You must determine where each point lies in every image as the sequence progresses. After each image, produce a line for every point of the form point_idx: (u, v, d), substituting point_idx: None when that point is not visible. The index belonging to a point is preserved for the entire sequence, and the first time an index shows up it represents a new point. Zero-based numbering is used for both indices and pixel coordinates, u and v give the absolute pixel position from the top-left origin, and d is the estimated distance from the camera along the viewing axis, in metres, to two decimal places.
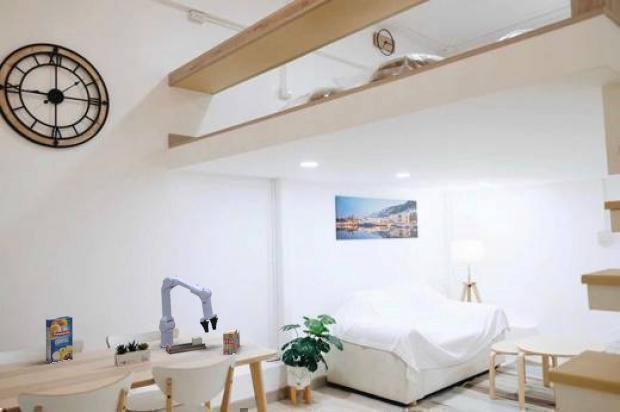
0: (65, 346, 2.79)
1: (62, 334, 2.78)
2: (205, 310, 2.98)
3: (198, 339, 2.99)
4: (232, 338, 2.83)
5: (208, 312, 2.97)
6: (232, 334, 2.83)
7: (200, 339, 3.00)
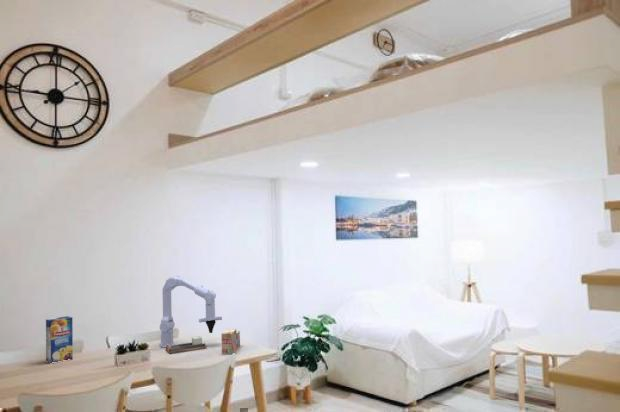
0: (65, 346, 2.79)
1: (62, 334, 2.78)
2: (206, 312, 3.04)
3: (198, 339, 2.99)
4: (230, 338, 2.83)
5: (208, 314, 3.03)
6: (230, 334, 2.83)
7: (200, 339, 3.00)
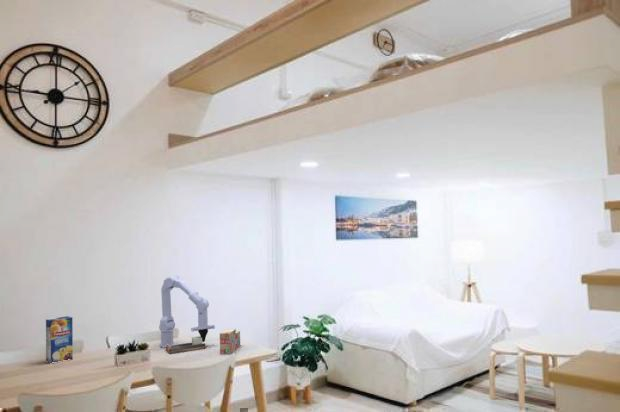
0: (65, 346, 2.79)
1: (62, 334, 2.78)
2: (198, 320, 3.02)
3: (198, 339, 2.99)
4: (228, 338, 2.83)
5: (200, 323, 3.01)
6: (228, 334, 2.83)
7: (200, 339, 2.99)
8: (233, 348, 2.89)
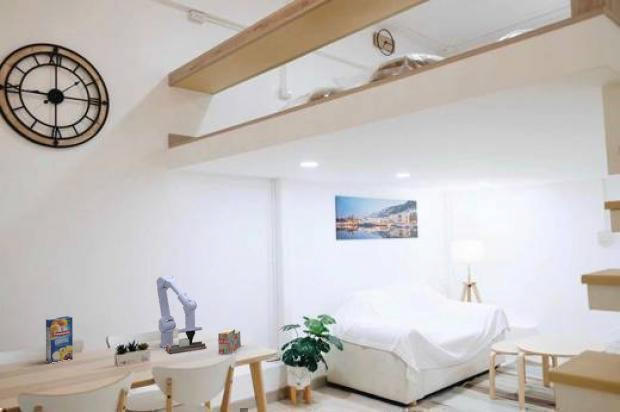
0: (65, 346, 2.79)
1: (62, 334, 2.78)
2: (185, 322, 2.98)
3: (185, 341, 2.95)
4: (227, 338, 2.83)
5: (187, 325, 2.97)
6: (227, 334, 2.83)
7: (187, 341, 2.95)
8: (232, 348, 2.89)
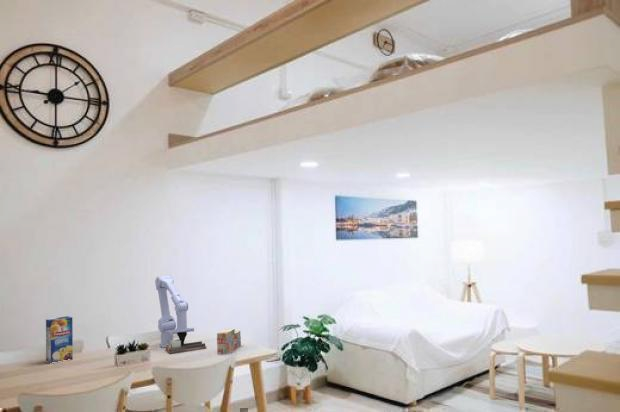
0: (65, 346, 2.79)
1: (62, 334, 2.78)
2: (177, 323, 2.95)
3: (176, 342, 2.92)
4: (225, 338, 2.84)
5: (179, 326, 2.94)
6: (225, 334, 2.84)
7: (179, 342, 2.93)
8: (231, 348, 2.89)
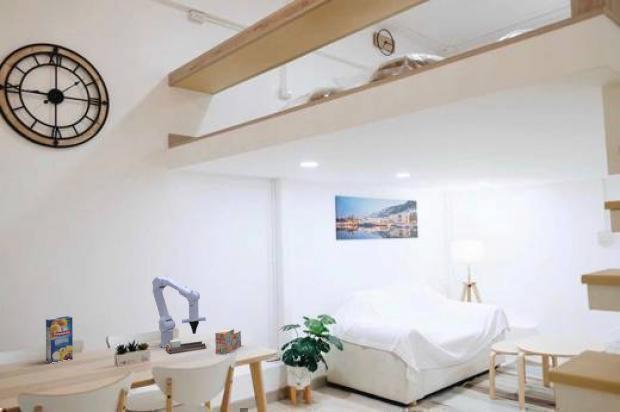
0: (65, 346, 2.79)
1: (62, 334, 2.78)
2: (189, 312, 3.02)
3: (176, 342, 2.92)
4: (223, 338, 2.84)
5: (191, 315, 3.01)
6: (223, 334, 2.84)
7: (178, 342, 2.93)
8: (230, 348, 2.90)
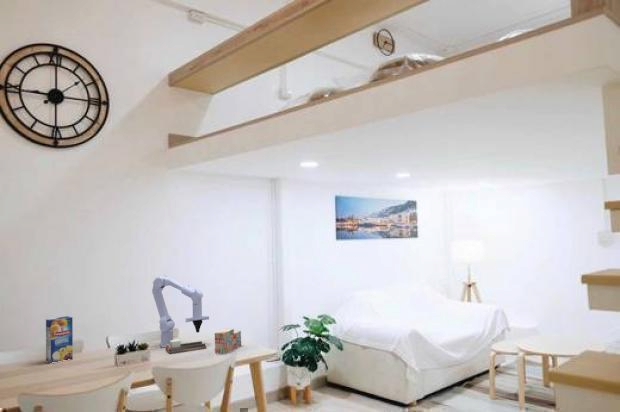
0: (65, 346, 2.79)
1: (62, 334, 2.78)
2: (193, 311, 3.05)
3: (176, 342, 2.92)
4: (222, 338, 2.84)
5: (195, 314, 3.04)
6: (222, 334, 2.84)
7: (178, 342, 2.93)
8: (229, 348, 2.90)
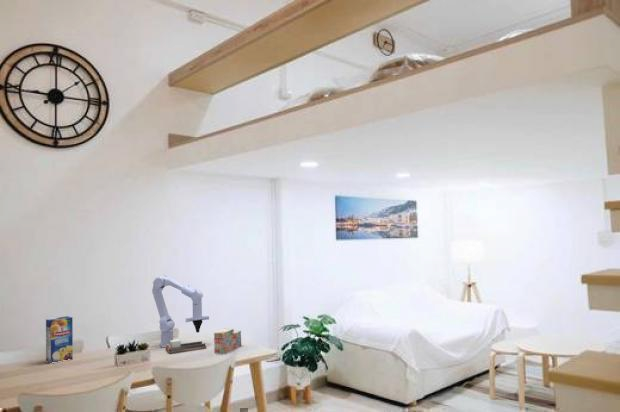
0: (65, 346, 2.79)
1: (62, 334, 2.78)
2: (193, 311, 3.05)
3: (176, 342, 2.92)
4: (222, 338, 2.84)
5: (195, 314, 3.04)
6: (222, 334, 2.84)
7: (178, 342, 2.93)
8: (229, 348, 2.90)
